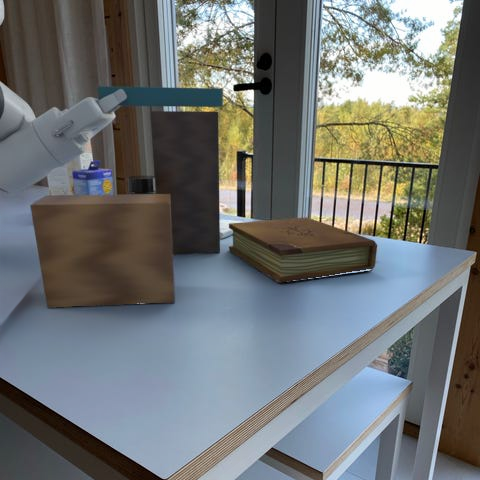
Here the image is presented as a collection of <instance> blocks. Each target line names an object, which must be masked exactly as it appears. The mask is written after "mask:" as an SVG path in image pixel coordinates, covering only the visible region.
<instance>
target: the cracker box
mask: <svg viewBox="0 0 480 480" xmlns="http://www.w3.org/2000/svg"><path fill="white" fill-rule="evenodd" d="M91 139H92V138H91ZM91 139H90V140H89V141H88V144H87V145H86V147H85V152H84V153H83V154H81V155H80V156H78V157H76V158H75V159H73V160H72V161H70V162H68V163H67V164H65V165H64V166H61V167H57V168H55V169H53V170H52V171H51V172H50V173H49V174H48V175H47V176H46V178H47V184H48V192H49V195H75V192H74V183H73V174H72V171H76V170H82V169H88V168H89V165H90V162H91V161H94V160H93V159H94V157H93V151H92V150H93V149H92V141H91ZM91 166H94V164H92V165H91Z"/></svg>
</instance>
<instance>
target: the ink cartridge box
mask: <svg viewBox="0 0 480 480" xmlns="http://www.w3.org/2000/svg"><path fill="white" fill-rule="evenodd" d="M92 164H93V166H91V165H92ZM94 164H96V165H94ZM100 164H101V160H93V161H91V162H90V165H89V168H88V169H82V170H76V171H72V174H73V183H74V192H75V195H114V184H113V183H114V182H113V181H114V180H113V169H110V168H102V167H101V168H99V167H100V166H101V165H100Z"/></svg>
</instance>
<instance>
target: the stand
mask: <svg viewBox="0 0 480 480" xmlns="http://www.w3.org/2000/svg"><path fill="white" fill-rule="evenodd" d="M150 124H151V125H150V127H151V140H152V142H151V143H152V156H153V158H152V159H153V172H154V176H155V190H156V194H170V199H171V219H172V238H173V255H195V254H194V253H203V254H211V253H210V252H220V253H221V239H220V220H221V218H220V217H221V215H220V213H221V212H220V136H219V135H220V134H219V133H220V130H219V128H220V127H219V126H220V125H219V111H195V110H194V111H184V110H183V111H181V110H180V111H177V110H176V111H175V110H170V111H169V110H151V111H150Z"/></svg>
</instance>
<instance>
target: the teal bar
mask: <svg viewBox="0 0 480 480" xmlns="http://www.w3.org/2000/svg"><path fill="white" fill-rule="evenodd" d="M119 89H123V90H124V91H125V93H126V95H127V99H126V100H124V101H123V102H121V103H119V104H118V105H117V106H120V107H175V108H177V107H179V108H180V107H181V108H182V107H184V108H188V107H190V108H223V107H224V88H221V87H220V88H219V87H218V88H214V87H213V88H212V87H211V88H210V87H163V86H162V87H161V86H160V87H159V86H158V87H157V86H156V87H155V86H111V85H110V86H106V85H103V86H102V85H99V86H97V95H98V99H99V100H101V99H102V98H104V97H106V96H108V95H110V94H113V93H114V92H116V91H118V90H119Z"/></svg>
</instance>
